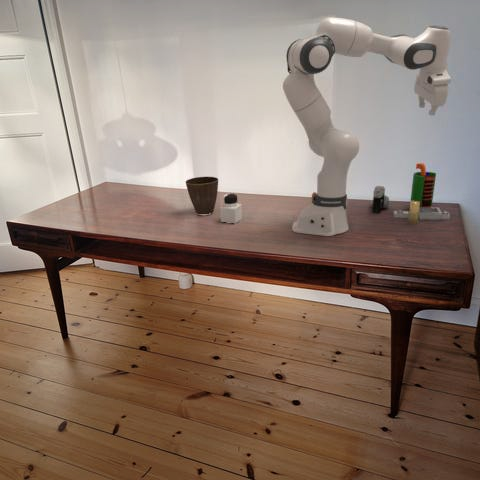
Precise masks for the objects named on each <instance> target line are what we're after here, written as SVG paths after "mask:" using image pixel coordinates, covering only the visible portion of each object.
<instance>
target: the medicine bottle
mask: <svg viewBox="0 0 480 480" xmlns="http://www.w3.org/2000/svg"><path fill="white" fill-rule="evenodd" d="M222 200H223V201H222V202H223V205H222V206H220V207H219V209H220V210H219V213H220V222H221V221H224V222H231V223H236V222H238V221H239V220H240V219H242V220H243V211H242V210H243V208H242V203H238V195H237V194H235V193H226V194H224V195H223V196H222ZM240 221H241V220H240ZM240 221H239V222H240ZM239 222H238V223H239ZM236 224H237V223H236Z"/></svg>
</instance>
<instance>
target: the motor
mask: <svg viewBox="0 0 480 480" xmlns="http://www.w3.org/2000/svg"><path fill="white" fill-rule="evenodd" d="M415 169H418V170H420V171H417V172H414V173H413V175H412V183H411V184H412V185H411V194H410V201H412V200H417V201H420V205H419V207H433V199H434V194H435V192H434V191H435V184H436V176H437V172H432V171H427V169H426V165H425V164H424V163H422V162H421V163H420V162H419V163H416V165H415Z"/></svg>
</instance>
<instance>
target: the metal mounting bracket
mask: <svg viewBox="0 0 480 480" xmlns="http://www.w3.org/2000/svg"><path fill="white" fill-rule="evenodd" d="M409 211H410V209H409V210H408V211H407V210H403V209H397V210H393V218H394V219H395V218H397V219H398V218H399V219H400V218H401V219H402V218H403V219H405V218H406V219H409ZM450 218H451V214H450V213H449V211H448V210H441V209H440V207H438V206H437V207H436V206H435V207H433V206H432V207H419V215H418V220H419V221H433V222H434V221H435V222H436V221H437V222H438V221H439V222H441V221H442V220H450Z"/></svg>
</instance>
